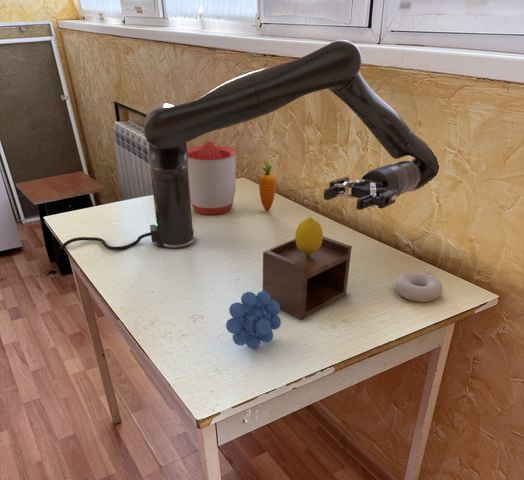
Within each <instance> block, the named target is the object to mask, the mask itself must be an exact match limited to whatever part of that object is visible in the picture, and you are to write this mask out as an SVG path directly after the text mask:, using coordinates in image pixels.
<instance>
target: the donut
mask: <svg viewBox="0 0 524 480" xmlns="http://www.w3.org/2000/svg"><path fill="white" fill-rule="evenodd" d="M394 285H395V286H394V287H395V291H396V292H397V294H398V295H399V296H401V297H402V298H404V299H406V300H409V301H413V302H419V303H429V302H433V301H434V300H436V299H438V298H439V297H440V296H441V294H442V292H443V285H442V283H441V282H440V280H439V279H438V278H436V277H435V276H433V275H430V274H428V273H423V272H407V273H404V274H402V275H400V276H399V277H398V278H397V279H396V281H395V284H394Z"/></svg>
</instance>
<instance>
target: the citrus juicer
mask: <svg viewBox="0 0 524 480" xmlns="http://www.w3.org/2000/svg"><path fill="white" fill-rule="evenodd" d="M187 155H188V174H189V186H190V199H191V208H193V210H194V211H195V212H197V213H198V214H200V215H218V214H226V213H227V212H229V211H230V210H231V209H232V207H233V204H234V199H235V196H236V189H237V171H236V170H237V169H236V167H237V166H236V155H237V151H236V150H235V149H234V148H231V147H227V146H220V145H217V146H216V145H215V144H214V143H213V142H211V141H210V140H207V141H206V142H205V143H204V145H203V146H195V147H190V148H187Z"/></svg>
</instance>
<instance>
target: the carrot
mask: <svg viewBox="0 0 524 480" xmlns="http://www.w3.org/2000/svg"><path fill="white" fill-rule="evenodd" d="M263 163H264V166H263V165H261V166H260V168H261V169H263V171H264V172H265V173H262V174H261V175H259V177H258V186H259V196H260V197H259V198H260V201H261V204H262V207H263V209H264V211H265V212H266V213H269V211H270V210H271V208H272V206H273V203H274V200H275V196H276V187H277V183H276V182H277V178H276V175H275V174H273V173H271V172H272V167H273V164H272V163H271V162H269V164H268V161H267V160H266V159H265V160H264V161H263Z"/></svg>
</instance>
